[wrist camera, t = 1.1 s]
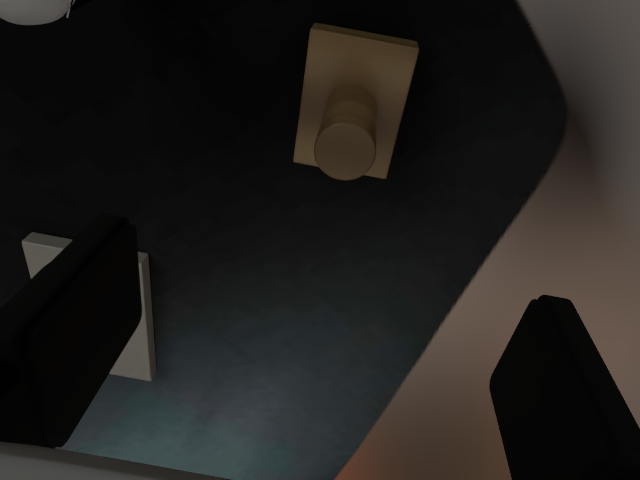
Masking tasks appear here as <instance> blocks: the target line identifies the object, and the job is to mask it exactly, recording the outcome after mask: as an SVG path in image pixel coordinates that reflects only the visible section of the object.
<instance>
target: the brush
mask: <svg viewBox="0 0 640 480" xmlns="http://www.w3.org/2000/svg"><path fill="white" fill-rule="evenodd" d="M418 53H419V47H418V44H417V42H416V41H411V40H408V39H403V38H397V37H392V36H386V35H381V34H376V33H370V32H365V31H359V30H354V29H349V28H343V27H338V26H332V25H327V24H319V23H314V25H313V26H312V28H311V29H310V36H309V43H308V51H307V59H306V66H305V74H304V82H303V89H302V97H301V105H300V113H299V120H298V128H297V136H296V143H295V151H294V159H293V161H294V162H296V163H301V164H307V165H312V166H318V167H320V169H321V170H322V171H323V172H324V173H325V174H327V175H328V176H330V177H332V178H335V179H338V180H352V179H356V178H359V177H361V176H362V175H366V176H372V177H377V178H382V179H386V177H387V173H388V169H389V165H390V161H391V157H392V153H393V149H394V146H395V142H396V138H397V134H398V130H399V126H400V122H401V118H402V115H403V111H404V107H405V103H406V99H407V95H408V91H409V87H410V84H411V80H412V76H413V72H414V68H415V64H416V60H417V56H418Z"/></svg>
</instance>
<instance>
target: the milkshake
mask: <svg viewBox="0 0 640 480" xmlns="http://www.w3.org/2000/svg"><path fill="white" fill-rule="evenodd" d="M90 1H92V0H0V18H2V19H4V20H6V21H8V22H11V23H15V24H20V25H38V24H45V23H50V22H53V21H55V20H57V19H59V18H61V17H62V16H64V15H66V14H67V16H66V17H67V18H68V17H69V14H70V12H71V11H73V10H75V9H77V8H79V7H81V6H83V5H84V4H86V3H88V2H90Z"/></svg>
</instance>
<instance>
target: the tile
mask: <svg viewBox="0 0 640 480" xmlns="http://www.w3.org/2000/svg"><path fill="white" fill-rule="evenodd" d="M72 240H73V239H67V238H62V237H57V236H51V235H46V234H40V233H35V232H31V233H30V234H29V235H28V236H27V237H26V238H25V239H24V240H22V246H23V250H24V254H25V257H26V261H27V265H28V269H29V273H30V277H31V279H32V278H33V277H34V276H35V275H36V274H37V273H38V272H39V271H40V270H41V269H42V268H43V267H44V266H45V265H47V264H48V263H50V262H51V261H52V260H53V259H54V258H55V257H56V256H57V255H58V254H59V253H60V252H61V251H62V250H63V249H64V248H65V247H66V246H67V245H68V244H69V243H70V242H71V241H72ZM138 261H139V275H140V288H141V302H142V317H141V320H140V323H139V325H138V327H137V329H136V330H135V332H134V334H133V335H132V337H131V338H130V340H129V342H128V343H127V345H126V347H125V348H124V350H123V351H122V353H121V355H120V356H119V358H118V360H117V361H116V363H115V364H114V366H113V368H112V369H111V371H110V373H109V374H113V375H119V376H124V377H129V378H135V379H140V380H146V381H151V380H152V378H153V376H154V374H155V372H156V359H155V344H154V330H153V316H152V301H151V287H150V273H149V258H148V253H143V252H138Z"/></svg>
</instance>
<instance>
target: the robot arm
mask: <svg viewBox="0 0 640 480" xmlns="http://www.w3.org/2000/svg"><path fill="white" fill-rule="evenodd" d="M141 317H142V302H141V288H140V275H139V261H138V248H137V235H136V228H135V226H134V225H130V224H129V221H128V219H127V218H126V217H121V216H115V215H110V214H104V213H100V214H99V215H97V216H96V217H95V218H94V219H93V220H92V221H91V222H90V223H89V224H88V225H87V226H86V227H85V228H84V229H83V230H82V231H81V232H80V233H79V234H78V235H77V236H76V237H75V238H74V239H73V240H72V241H71V242H70V243H69V244H68V245H67V246H66V247H65V248H64V249H63V250H62V251H61V252H60V253H59V254H58V255H57V256H56V257H55V258H54V259H53V260H52V261H51V262H50V263H48V264H47V265H45V266H44V267H43V268H42V269H41V270H40V271H39V272H38V273H37V274H36V275H35V276H34V277H33V278H32V279H31V280H30V281H29V282H28V283H27V284H26V285H25V286H24V287H23V288H22V289H21V290H20V291H19V292H18V293H17V294H15V295H14V296H13V297H12V298H11V299H10V300H9V301H8V302H7V303H6V304H5V305H4V306H3V307H2V308H1V309H0V480H231V479H225V478H220V477H214V476H209V475H203V474H197V473H192V472H186V471H181V470H175V469H170V468H164V467H159V466H153V465H148V464H142V463H136V462H131V461H125V460H120V459H114V458H108V457H102V456H96V455H90V454H84V453H78V452H72V451H65V450H59V449H55V447H62V446H63V445H64V444H65V443H66V442H67V441H68V439H69V438H70V436H71V434H72V433H73V431H74V429H75V428H76V426H77V425H78V423H79V421H80V420H81V418H82V416H83V415H84V413H85V412H86V410H87V408H88V407H89V405H90V403H91V402H92V400H93V399H94V397H95V395H96V394H97V392H98V390H99V389H100V387H101V386H102V384H103V382H104V381H105V379H106V377H107V376H108V374H109V373H110V371H111V369H112V368H113V366H114V364H115V363H116V361H117V360H118V358H119V356H120V355H121V353H122V351H123V350H124V348H125V347H126V345H127V343H128V342H129V340H130V338H131V337H132V335H133V334H134V332H135V330H136V329H137V327H138V325H139V323H140V320H141ZM490 393H491V397H492V401H493V405H494V409H495V413H496V417H497V421H498V425H499V429H500V433H501V437H502V441H503V445H504V449H505V453H506V457H507V461H508V465H509V470H510V473H511V477H512V480H640V428H639V427H638V425H637V423H636V421H635V419H634V417H633V415H632V413H631V412H630V410H629V408H628V406H627V404H626V402H625V400H624V399H623V397H622V395H621V393H620V391H619V389H618V388H617V385H616V384H615V382H614V380H613V378H612V376H611V374H610V373H609V370H608V369H607V367H606V365H605V363H604V361H603V359H602V357H601V356H600V354H599V352H598V350H597V348H596V346H595V344H594V342H593V341H592V339H591V337H590V335H589V333H588V331H587V329H586V328H585V326H584V324H583V322H582V320H581V318H580V316H579V314H578V313H577V311H576V309H575V307H574V305H573V303H572V302H571V301H570V300H568V299H565V298H560V297H554V296H549V295H542V296H540V297H539V298H538V300H536V299H533V300H532V301H531V302H530V303H529V305H528V307H527V308H526V310H525V312H524V314H523V316H522V318H521V320H520V322H519V324H518V326H517V328H516V329H515V331H514V333H513V335H512V337H511V339H510V341H509V343H508V345H507V347H506V349H505V351H504V353H503V354H502V356H501V358H500V360H499V362H498V364H497V366H496V368H495V370H494V372H493V374H492V376H491V379H490Z"/></svg>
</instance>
